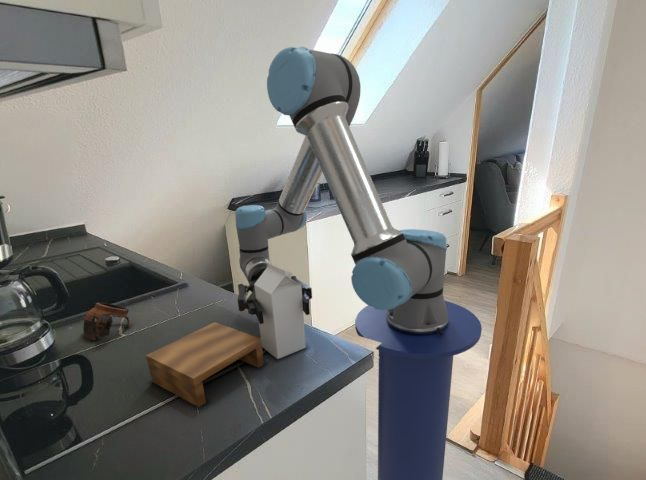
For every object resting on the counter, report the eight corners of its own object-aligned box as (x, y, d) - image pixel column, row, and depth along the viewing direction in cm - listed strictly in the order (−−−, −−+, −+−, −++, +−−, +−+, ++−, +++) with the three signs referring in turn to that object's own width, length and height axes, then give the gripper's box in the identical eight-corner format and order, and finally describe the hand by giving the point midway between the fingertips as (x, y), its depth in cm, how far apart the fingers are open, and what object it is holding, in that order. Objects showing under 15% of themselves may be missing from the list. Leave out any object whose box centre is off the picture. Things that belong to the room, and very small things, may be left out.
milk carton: (277, 360, 84) (269, 274, 77) (261, 347, 89) (251, 265, 82) (306, 348, 88) (300, 266, 81) (288, 336, 94) (282, 258, 86)
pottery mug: (81, 331, 99) (91, 299, 99) (124, 339, 103) (133, 308, 104) (76, 340, 88) (87, 304, 89) (124, 349, 93) (134, 314, 93)
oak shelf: (264, 364, 83) (261, 338, 81) (198, 407, 71) (192, 378, 68) (218, 345, 90) (214, 321, 88) (152, 382, 78) (145, 355, 76)
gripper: (305, 284, 105) (335, 319, 86) (220, 298, 98) (232, 340, 79) (303, 256, 103) (334, 287, 83) (215, 269, 95) (227, 305, 76)
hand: (284, 313), depth 81 cm, fingers closed on milk carton, 9 cm apart
